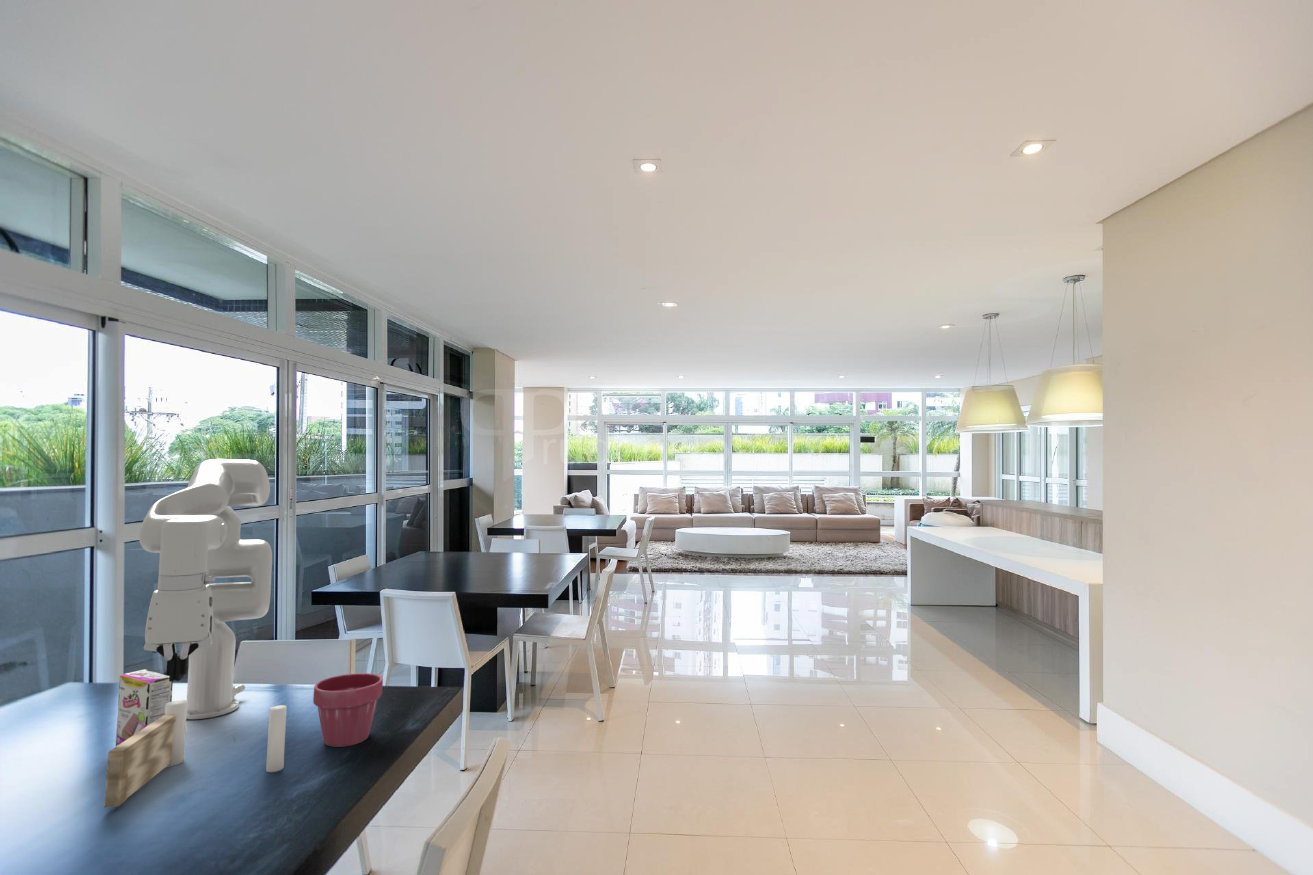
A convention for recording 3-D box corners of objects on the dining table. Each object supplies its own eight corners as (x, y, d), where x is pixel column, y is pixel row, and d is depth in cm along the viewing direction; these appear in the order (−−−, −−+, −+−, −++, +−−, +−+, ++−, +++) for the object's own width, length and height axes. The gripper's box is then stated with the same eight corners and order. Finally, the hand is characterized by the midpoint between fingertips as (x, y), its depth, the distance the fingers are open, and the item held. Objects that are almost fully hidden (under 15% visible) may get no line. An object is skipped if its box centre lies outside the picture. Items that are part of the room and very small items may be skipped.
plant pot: (336, 725, 152) (338, 670, 153) (392, 728, 151) (394, 673, 152) (296, 750, 138) (299, 689, 139) (358, 753, 136) (360, 692, 137)
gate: (160, 762, 129) (163, 715, 129) (172, 762, 129) (176, 714, 130) (104, 807, 111) (108, 751, 112) (118, 806, 112) (122, 750, 112)
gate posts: (172, 758, 133) (175, 699, 134) (287, 765, 131) (290, 705, 131) (156, 765, 130) (161, 705, 130) (275, 773, 127) (278, 711, 128)
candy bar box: (112, 753, 135) (118, 674, 136) (139, 744, 140) (145, 668, 141) (142, 763, 130) (148, 681, 132) (169, 754, 135) (175, 675, 136)
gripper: (232, 577, 130) (226, 669, 129) (141, 581, 124) (135, 677, 123) (223, 584, 123) (218, 680, 122) (127, 588, 117) (120, 689, 116)
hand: (176, 678), depth 123 cm, fingers closed
